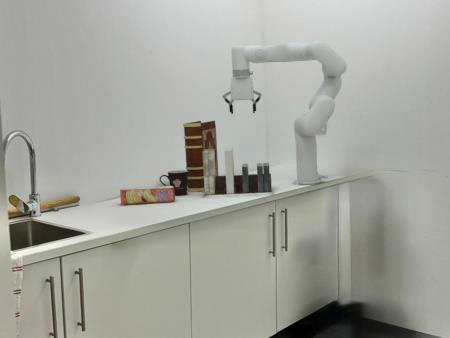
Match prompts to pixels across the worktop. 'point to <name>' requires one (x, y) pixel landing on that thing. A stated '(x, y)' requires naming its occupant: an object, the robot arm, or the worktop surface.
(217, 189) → the book rack
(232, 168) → the ivory book
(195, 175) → the decorative book
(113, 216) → the worktop surface
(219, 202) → the worktop surface
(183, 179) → the coffee mug
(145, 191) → the snack package
